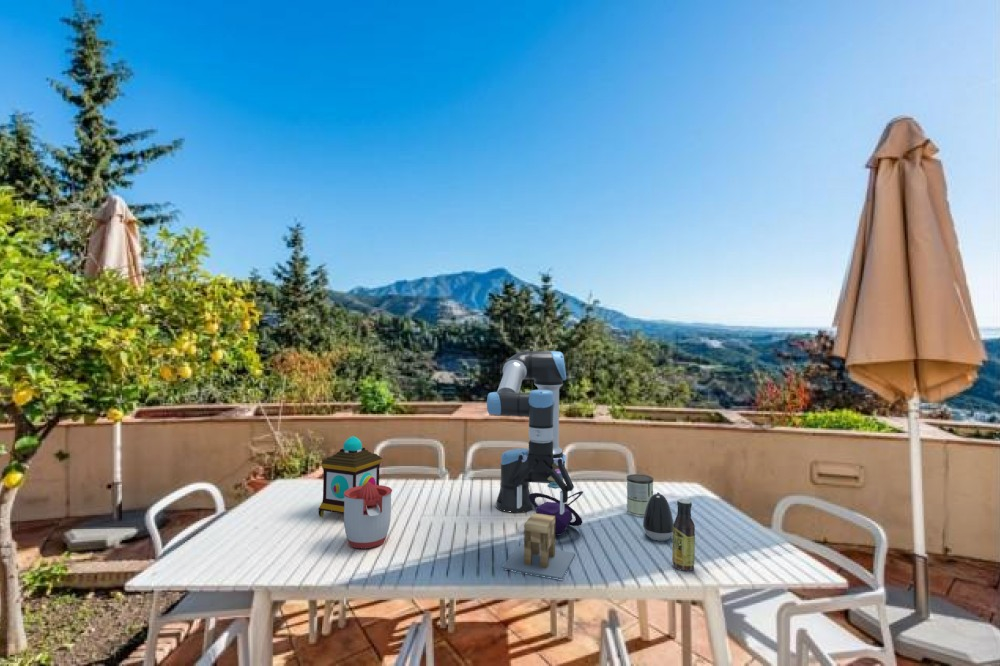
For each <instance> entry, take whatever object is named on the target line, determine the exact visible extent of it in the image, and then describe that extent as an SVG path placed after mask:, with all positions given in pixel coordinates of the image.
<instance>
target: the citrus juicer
mask: <svg viewBox="0 0 1000 666" xmlns="http://www.w3.org/2000/svg"><path fill="white" fill-rule="evenodd" d="M392 492H393V490H392V488H391V487H389V486H387V485H382V484H379V485H372V484H371V483H370V482H367V483H366V484H365V485H363V486H357V487H353V488H350V489H348V490H346V491H345V492H344V495H345V499H344V514H343V527H344V532H345V537H346V540H347V542H348V543H347V544H348V545H349V546H350V547H351V548H354V549H357V548H361V549H370V548H371V549H372V548H376V547H378V546H381V545H383V544H384V543H385V541H386V540H387V536H388V532H389V529H390V524H391V519H392V518H391V515H392V514H391V513H392Z"/></svg>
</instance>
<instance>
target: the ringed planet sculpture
mask: <svg viewBox="0 0 1000 666" xmlns="http://www.w3.org/2000/svg"><path fill="white" fill-rule="evenodd" d="M552 466H553V467H554V469H555V471H556V472H557V474H561V472H560V470H559V467H558V466H557V465H556V463H555V462H554V463H553V464H552ZM560 478H561V477H560ZM561 479H562V478H561ZM548 480H549V481H554V482H550V483H547V487H548V488H551V489H555V490H556V489H561V488H560V487H559V486H558V484H557V483H556V482H555V480H554V479H553V478H552V476H550V477H549V478H548ZM562 480H563V481H564V479H562ZM583 494H584V491H578V492H576V493H573V494H571V495H569V496H568V499H570V498H572V497H575V496H576V497H575V498H573V499H572V501H570V502H569V503H564V513H563V514H560V499H558V498H556V497H553V496H551V495H549V494H548V495H547V494H545V493H539V492H532V493H531V492H530V495H529V499H530V502H531V503H532V504H533V507H534V508H536V510H535V511H536V513H537V514H545V515H552V516H555V535H557V534H561V535H562V534H563V532H564V531H565V530H566V529H567V527H568V526H570V527H571V526H572V527H580V526H582V524H583V519H582V517H581V516H580V514H578V513H577V511H575V509H573V508H572V507H571V506H570V505H571V504H572V503H574V502H575V501H576V500H578V499H579V497H581V496H582V495H583ZM537 498H543V499H547V500H550V501H545V502H544V503H541V504H539V505H538V504H537V503H536V499H537ZM573 516H574V517H575V520H574V521H573Z"/></svg>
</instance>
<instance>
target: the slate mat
mask: <svg viewBox="0 0 1000 666" xmlns="http://www.w3.org/2000/svg"><path fill="white" fill-rule="evenodd" d="M575 557H576V552H572V551H567V550H560V549H555V556H554V558H553V557H549V566H548V567H547V568H541V567H540V553H539V554H538V555H536V554H532V564H531V566H530V565H524V543H520V544H519V546H518V547H517V548H516V549H515V551H514V552H513V553H512V554H511V556H510V557H509V558H508V559H507V560H506V562H505V563H504V564H503V565H502V566H501V569H502V568H503V569H507V570H513V571H516V572H515V573H517V572H521V573H520V574H522V573H527V574H526V575H528V574H532V575H531V576H533V575H539V576H545V577H551V578H558V579H563V580H564V578H565V576H566V574H567V572H568V570H569V569H568V568H570V567H571V565H572V562H573V560H575ZM570 564H571V565H570ZM569 566H570V567H569ZM566 571H567V572H566ZM565 573H566V574H565ZM564 575H565V576H564ZM539 576H538V577H539ZM563 577H564V578H563Z"/></svg>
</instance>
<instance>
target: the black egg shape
mask: <svg viewBox="0 0 1000 666" xmlns="http://www.w3.org/2000/svg"><path fill="white" fill-rule="evenodd" d="M642 522H643V523H642V526H643V529H644V532H645V534H646V535H647V536H648V537H649V538H650V539H651V540H654V541H656V540H657V542H664V541H668V540H669V539H671V538H672V537H673V525H674V518H673V514H672V510H671V507H670V504H669V502H668V500H667V498H666V497H665V495H663V494H661V493H660V491H658V492H657V493H653V495H652V496H651V498H650V499H649V501H648V503H647V506H646V510H645V514H644V517H643V519H642Z"/></svg>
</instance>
